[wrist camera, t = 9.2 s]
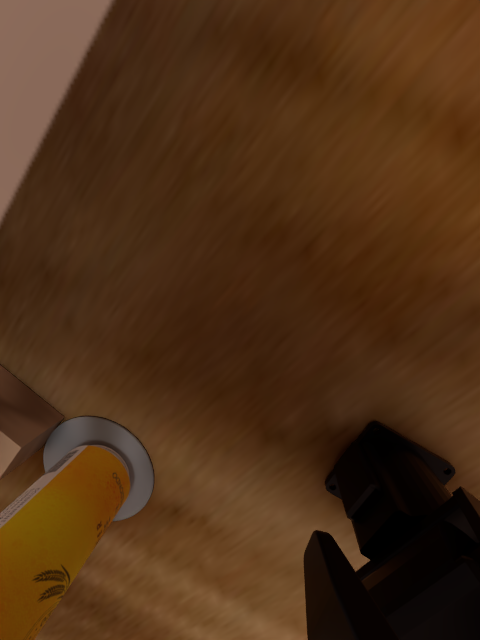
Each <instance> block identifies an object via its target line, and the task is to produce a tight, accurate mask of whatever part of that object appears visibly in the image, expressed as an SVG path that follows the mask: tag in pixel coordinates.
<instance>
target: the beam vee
mask: <svg viewBox="0 0 480 640" xmlns="http://www.w3.org/2000/svg"><path fill="white" fill-rule="evenodd" d="M63 418H64V416H62V415H61V414H60V413H59V412H58V411H56V410H55V409H54V408H53V407H51V406H50V405H49V404H48V403H46V402H45V401H44V400H43V399H42V398H40V397H39V396H38V395H37V394H35V393H34V392H33V391H32V390H31V389H29V388H28V387H27V386H26V385H24V384H23V383H22V382H21V381H20V380H18V379H17V378H16V377H15V376H13V375H12V374H11V373H10V372H8V371H7V370H6V369H5V368H4V367H2V366H1V365H0V480H1V479H2V478H3V477H5V476H6V475H7V474H8V473H10V472H11V471H12V470H14V469H15V468H16V467H17V466H19V465H20V464H21V463H23V462H24V461H25V460H26V459H28V458H29V457H30V456H32V455H33V454H34V453H35V452H37V451H38V450H39V449H41V448H42V447H43V445H44V444H45V443H46V445H45V449H44V456H43V459H44V468H45V472H47V471H48V470H49V469H51V468H52V467H53V466H54V465H55V464H56V463H57V462H58V461H60V460H61V459H62V458H63V457H64V456H65V455H66V454H67V453H69V452H70V451H71V450H73V449H74V448H76V447H79V446H84V445H102V446H106V447H108V448H110V449H112V450H114V451H115V452H117V453H118V454H119V455H120V456H121V457H122V458H123V460H124V461H125V463H126V465H127V467H128V470H129V479H130V492H129V495H128V497H127V499H126V501H125V502H124V504H123V505H122V507H121V508H120V510H119V511H118V513H117V514H116V516H115V517H114V519H113V520H112V521H118V520H123V519H126V518H129V517H131V516H133V515H135V514H136V513H138V512H139V511H140V510H141V509H142V508H143V507H144V506H145V505H146V503H147V501H148V500H149V498H150V496H151V493H152V491H153V486H154V470H153V466H152V463H151V460H150V457H149V455H148V453H147V451H146V450H145V448H144V447H143V445H142V444H141V442H140V441H139V440H138V439H137V438H136V437H135V436H134V435H133V434H132V433H131V432H130V431H128V430H127V429H126V428H124V427H123V426H121V425H119V424H117V423H115V422H113V421H111V420H108V419H105V418H101V417H95V416H81V417H76V418H72V419H70V420H67V421H66V422H64V423H62V424H61V425H59V424H60V422H61V421H62V420H63ZM58 425H59V426H58ZM57 426H58V427H57ZM46 441H47V442H46Z"/></svg>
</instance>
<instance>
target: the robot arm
mask: <svg viewBox="0 0 480 640" xmlns="http://www.w3.org/2000/svg"><path fill="white" fill-rule="evenodd" d="M375 428H379V430H377V431H373V430H374V429H375ZM446 468H448V469H447V470H445V471H444V469H446ZM454 474H455V468H454V467H453V466H452V465H451V464H450V463H449V462H448V461H446V460H444V459H442V458H441V457H439V456H437V455H435V454H434V453H432V452H430V451H428V450H427V449H425V448H423V447H421V446H420V445H418V444H416V443H414V442H413V441H411V440H409V439H408V438H406V437H404V436H402V435H401V434H399V433H397V432H395V431H394V430H392V429H390V428H388V427H387V426H385V425H383V424H381V423H380V422H377V421H374V422H371V423H370V424H369V425H368V426H367V427H366V429H365V430H364V431H363V433H362V434H361V435H360V436H359V438H358V439H357V440H356V442H354V443H352V444H351V445H350V447H349V448H348V449H347V450H346V452H345V453H344V454H343V456H342V457H341V458H340V459H339V461H338V462H337V463H336V465H335V466H334V470H333V471H332V472H331V474H330V475H329V476H328V478H327V479H326V481H325V486H326V489H327V491H328V492H330V493H332V494H333V495H335V496H337V497H338V498H340V499H342V501H343V504H344V508H345V512H346V515H347V517H348V518H349V519H350V520H351V521H352V524H353V528H354V531H355V535H356V538H357V542H358V545H359V549H360V552H361V554H362V555H363V556H365V557H367V558H369V559H370V561H369V562H368V563H366V564H365V565H364V566H363V567H361V568H360V569H359V570H358V571H356V572H355V571H354V569H353V568H352V566H351V564H350V563H349V561H348V560H347V558H346V557H345V555H344V554H343V552H342V551H341V549H340V548H339V546H338V545H337V543H336V541H335V540H334V538H333V537H332V536H331V535H330V534H329V533H327V532H323V531H318V530H315V531H314V532H313V533H312V536H311V538H310V540H309V543H308V545H307V547H306V550H305V553H304V578H305V598H306V618H307V635H308V640H480V501H479V500H478V499H476V498H475V497H474V496H473V495H471V494H470V493H469V492H467V491H466V490H465V489H464V488H462V487H461V486H460V487H459V488H458V489H457V490H455V491H454V492H453V493H452V494H453V496H451V494H450V493H449V492H448V490H447V489H446V488H445V486H444V485H445V484H446V483H447V482H448V481H449V480H450V479H451V478H452V477H453V476H454ZM331 484H334V486H330V485H331Z"/></svg>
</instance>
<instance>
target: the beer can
mask: <svg viewBox="0 0 480 640" xmlns="http://www.w3.org/2000/svg"><path fill="white" fill-rule="evenodd" d="M129 492H130V479H129V470H128V467H127V465H126V463H125V461H124V460H123V458H122V457H121V456H120V455H119V454H118V453H117V452H115V451H114V450H112V449H110V448H108V447H106V446H102V445H84V446H79V447H76V448H74V449H73V450H71V451H70V452H69V453H67V454H66V455H65V456H64V457H63V458H62V459H61V460H60V461H58V462H57V463H56V464H55V465H54V466H53V467H52V468H51V469H49V470H48V471H47V472H46V473H45V474H44V475H43V476H42V477H40V478H39V479H38V480H37V481H36V482H35V483H34V484H33V485H31V486H30V487H29V488H28V489H27V490H26V491H25V492H24V493H22V494H21V495H20V496H19V497H18V498H17V499H16V500H15V501H13V502H12V503H11V504H10V505H9V506H8V507H7V508H6V509H4V510H3V511H2V512H1V513H0V640H34V639H35V638H36V636H37V635H38V633H39V632H40V630H41V629H42V627H43V626H44V624H45V623H46V621H47V619H48V618H49V616H50V615H51V613H52V612H53V610H54V609H55V607H56V606H57V604H58V603H59V601H60V600H61V598H62V597H63V595H64V594H65V592H66V591H67V589H68V587H69V586H70V584H71V583H72V581H73V580H74V578H75V577H76V575H77V574H78V572H79V571H80V569H81V568H82V566H83V565H84V563H85V562H86V560H87V559H88V557H89V555H90V554H91V552H92V551H93V549H94V548H95V546H96V545H97V543H98V542H99V540H100V539H101V537H102V536H103V534H104V533H105V531H106V530H107V528H108V527H109V525H110V524H111V522H112V520H113V519H114V517H115V516H116V514H117V513H118V511H119V510H120V508H121V507H122V505H123V504H124V502H125V501H126V499H127V497H128V495H129Z"/></svg>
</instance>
